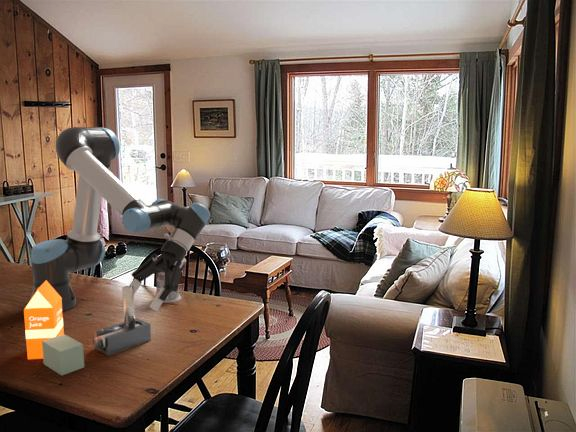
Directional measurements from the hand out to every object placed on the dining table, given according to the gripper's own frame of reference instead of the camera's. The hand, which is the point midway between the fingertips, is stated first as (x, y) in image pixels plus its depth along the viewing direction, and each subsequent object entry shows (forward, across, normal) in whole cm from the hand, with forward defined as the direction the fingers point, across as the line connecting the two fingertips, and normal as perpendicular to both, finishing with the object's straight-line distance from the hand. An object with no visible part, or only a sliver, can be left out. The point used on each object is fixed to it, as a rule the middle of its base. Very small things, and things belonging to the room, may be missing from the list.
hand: (139, 303), depth 151 cm
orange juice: (+24, +13, +8) cm, 28 cm away
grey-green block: (+25, +1, +9) cm, 26 cm away
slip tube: (+12, +1, -2) cm, 12 cm away
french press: (-12, +24, -29) cm, 39 cm away
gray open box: (+12, +1, -4) cm, 13 cm away
